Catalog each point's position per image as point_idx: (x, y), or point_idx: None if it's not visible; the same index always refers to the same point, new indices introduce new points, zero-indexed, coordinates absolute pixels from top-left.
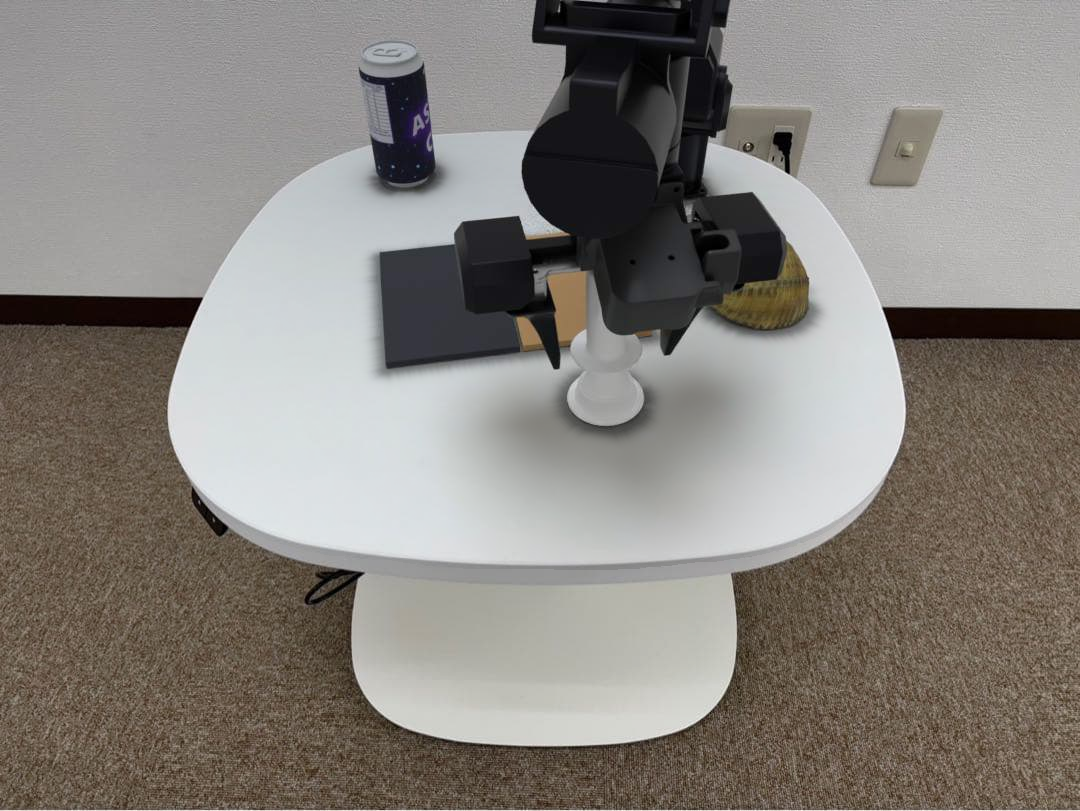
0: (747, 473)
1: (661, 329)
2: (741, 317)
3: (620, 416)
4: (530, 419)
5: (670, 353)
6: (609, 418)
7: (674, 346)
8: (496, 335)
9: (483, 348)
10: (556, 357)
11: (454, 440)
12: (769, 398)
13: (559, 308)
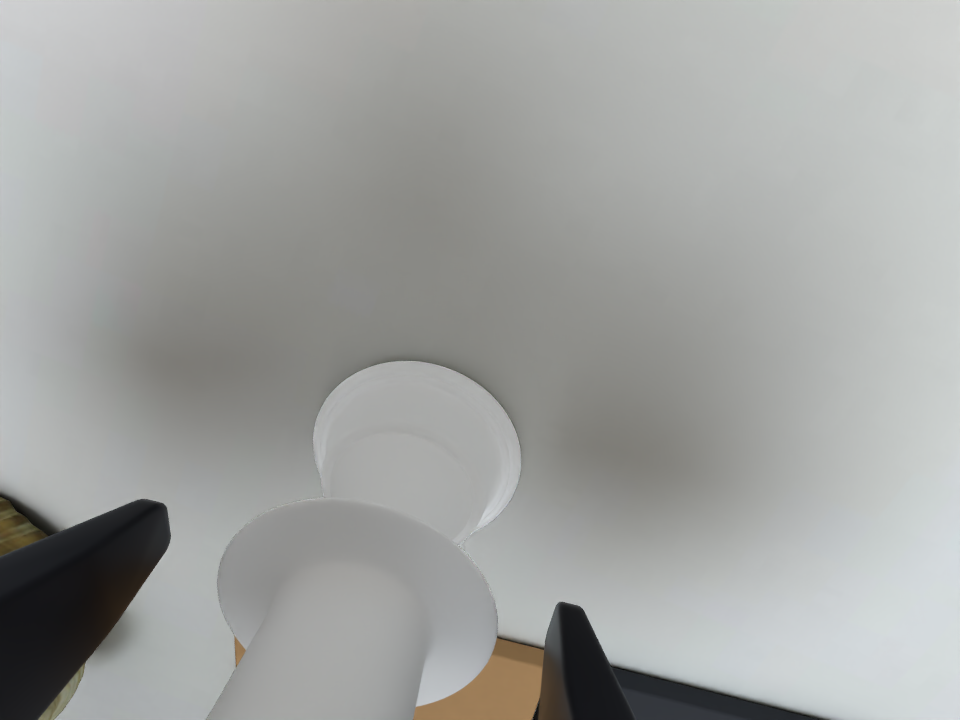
0: (109, 39)
1: (108, 614)
2: (11, 538)
3: (403, 379)
4: (637, 470)
5: (132, 503)
6: (435, 386)
7: (85, 524)
8: None
9: (646, 699)
10: (584, 672)
11: (879, 488)
12: (4, 292)
13: (419, 717)
